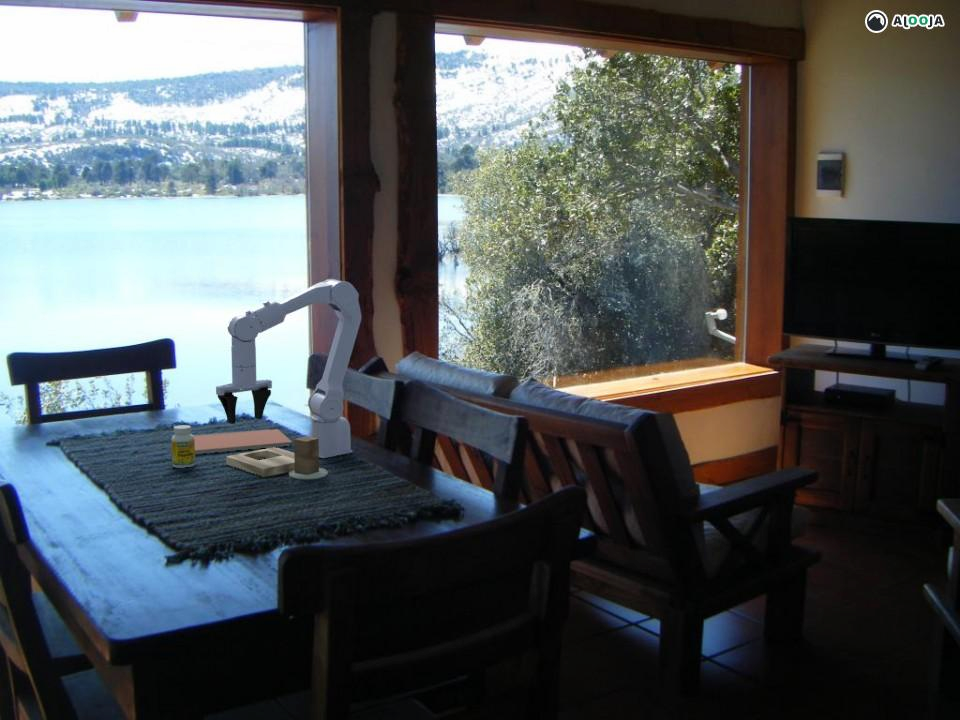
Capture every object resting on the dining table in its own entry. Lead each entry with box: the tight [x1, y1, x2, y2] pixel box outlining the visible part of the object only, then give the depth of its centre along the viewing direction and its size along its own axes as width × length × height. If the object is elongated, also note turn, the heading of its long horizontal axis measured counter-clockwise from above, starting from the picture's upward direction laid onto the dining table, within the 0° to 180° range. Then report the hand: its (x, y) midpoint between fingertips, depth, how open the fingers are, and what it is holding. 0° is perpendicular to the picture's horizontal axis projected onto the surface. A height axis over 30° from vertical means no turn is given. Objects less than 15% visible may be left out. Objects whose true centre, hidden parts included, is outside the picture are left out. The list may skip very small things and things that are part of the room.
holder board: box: [225, 447, 295, 478], centre depth 253 cm, size 14×16×2 cm
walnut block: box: [293, 435, 320, 475], centre depth 245 cm, size 4×4×8 cm
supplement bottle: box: [171, 424, 196, 469], centre depth 252 cm, size 5×5×10 cm
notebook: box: [192, 428, 293, 455], centre depth 275 cm, size 27×17×2 cm, turn 114°
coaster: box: [288, 467, 329, 481], centre depth 246 cm, size 9×9×1 cm
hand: (245, 420), depth 254 cm, fingers open, 7 cm apart
